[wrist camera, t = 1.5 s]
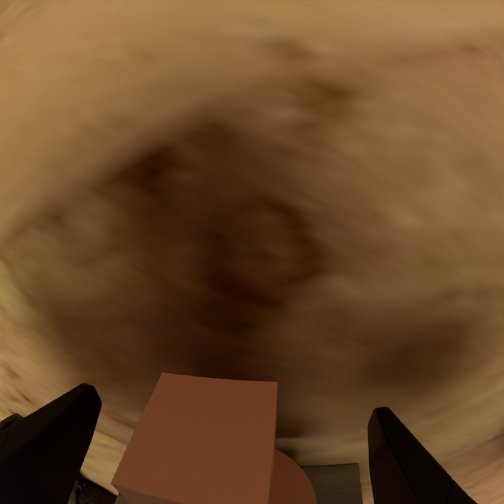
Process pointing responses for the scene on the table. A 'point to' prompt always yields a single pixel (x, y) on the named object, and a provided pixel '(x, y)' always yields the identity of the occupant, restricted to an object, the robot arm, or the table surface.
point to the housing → (326, 484)
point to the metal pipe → (83, 494)
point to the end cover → (210, 447)
